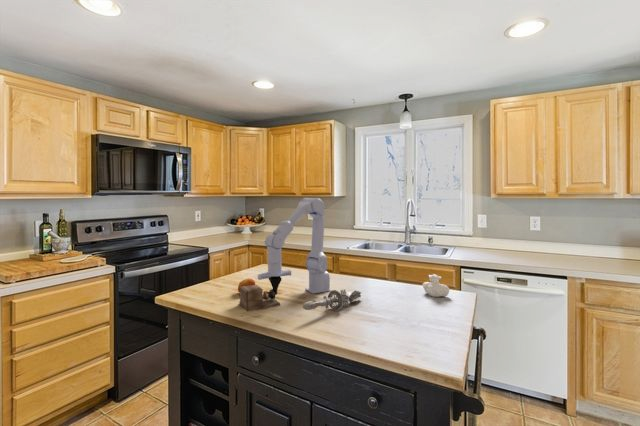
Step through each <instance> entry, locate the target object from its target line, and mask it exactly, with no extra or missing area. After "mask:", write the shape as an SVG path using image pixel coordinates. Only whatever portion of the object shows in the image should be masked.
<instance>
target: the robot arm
mask: <svg viewBox="0 0 640 426" xmlns="http://www.w3.org/2000/svg"><path fill="white" fill-rule="evenodd" d="M307 214H308V215H310V217H312V229H311V249H310V252H309V253H308V254H307V257H306V260H305V267H306V269H307V271H308V287H306V288H305V290H306V291H308V292H310V293H311V294H314V295H315V294H318V293H319V294H320V293H326V292H331V289H330V285H331V284H330V282H331V281H330V279H331V278H330V277H331V276H330V274H329V272H328V271H327V270H328V267H329V264H328V261H327V260H328V259H327V255H326V254H325V253H324V236H325V223H326V221H325V220H326V218H325V216H326V214H325V202H324V201H323V200H322V199H321V198H318V197H303V198H302V199H301V200H300V201H299V202H298V205H297V207H296V208H295V209H294V211H293V212H292V213H291V215H290V216H289V217H288V218H287V220H283V221H280V222H279V225H278V226H277V227H276V229H275V230H273V231H272V233H269V234H268V235H267V236H266V238H265V240H264V245H265V246H266V249H267V271H266V272H263V273H262V272H261V273H258V274H257V280H258V281H261V280H264V279H265V280H266V279H268V280H269V282H270V284H271V287H272V289H274V291H275V296H276V295H278V288H279V286H280V284H281V282H282V277H287V276H290V277H291V276H292V270H290V269H288V270H282V265H283V264H282V247H283V246H284V245H285V243H286V242H285V241H286V239H287V238H288V237H289V235H291V233H292V232H293V231H294V225H295V224H296V223H298V221H299V220H300V219H301V218H302V217H304V215H307Z"/></svg>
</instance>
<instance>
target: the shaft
mask: <svg viewBox="0 0 640 426" xmlns="http://www.w3.org/2000/svg"><path fill="white" fill-rule="evenodd" d="M268 298H271V299H275V300H276V295H275V291H274V289H273V288H272V289H269V291H268V290H263V299H265V300H267V299H268Z"/></svg>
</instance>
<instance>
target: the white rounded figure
mask: <svg viewBox="0 0 640 426" xmlns="http://www.w3.org/2000/svg"><path fill="white" fill-rule="evenodd" d="M428 278H429V281H430V282H429V281H425V282H422V284H421V286H422V288H423V289H424V292H425V293H426V294H427V295H429V296H430V297H433V298H439V297H448V296H449V293H450V288H449V287H448V285H446V284H441V283H440V280H442V276H439V275H437V274H435V273H432V274H428Z"/></svg>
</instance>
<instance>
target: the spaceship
mask: <svg viewBox="0 0 640 426" xmlns="http://www.w3.org/2000/svg"><path fill="white" fill-rule="evenodd" d="M361 294H362V292H361V291H358V290H354V291H352V292H351V291H350V292H349V291H348V292H347V293H346V289H340V291H339V290H336V289H332V290H330V291H329V292H328V294H327V295H323V298H321V299H320V300H318V301H316V300H311V301H310V300H309V301H307V302H305V303H304V304H303V305H302V308H303V309H304V310H305V311H312V310H316V309H317V307H325V309H326V310H327V309H329V308H331V309H332V310H334V311H340V310H341V309H342V307H343V308H345V307H349V306H350V305H349V303H352V302H353V301H356V302H358V301H359V300H360V299H361V298H362V297H363V296H362V295H361Z"/></svg>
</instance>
